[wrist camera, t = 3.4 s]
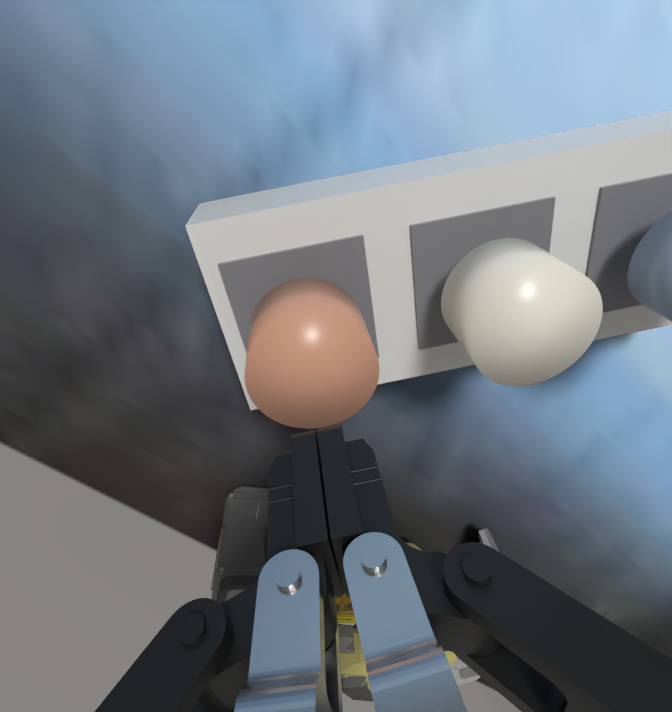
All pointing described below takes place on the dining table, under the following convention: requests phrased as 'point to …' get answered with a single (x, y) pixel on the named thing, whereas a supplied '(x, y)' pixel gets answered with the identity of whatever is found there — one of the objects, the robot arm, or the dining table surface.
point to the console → (442, 234)
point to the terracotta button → (309, 355)
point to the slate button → (653, 268)
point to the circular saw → (248, 557)
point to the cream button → (520, 311)
